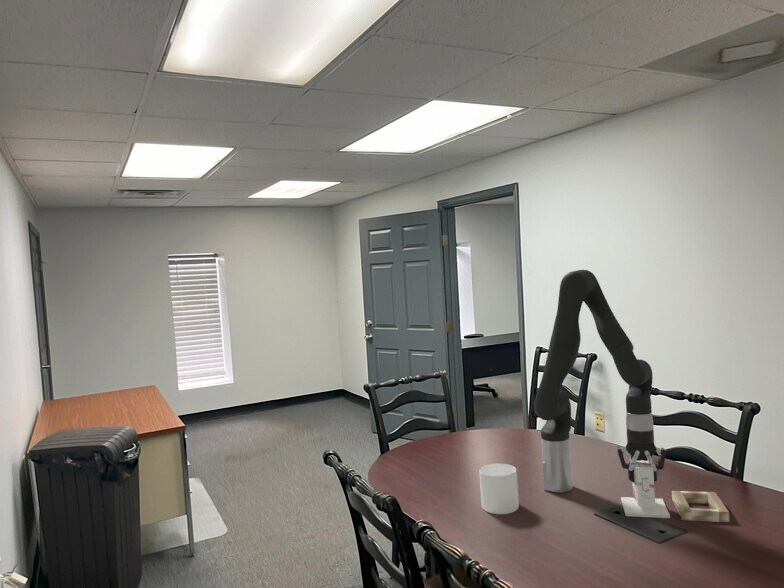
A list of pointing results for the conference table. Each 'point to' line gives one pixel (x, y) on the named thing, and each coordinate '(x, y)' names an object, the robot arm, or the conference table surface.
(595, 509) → the conference table surface
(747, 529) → the conference table surface
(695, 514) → the frame
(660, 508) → the pad
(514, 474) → the cup
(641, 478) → the ink cartridge box
